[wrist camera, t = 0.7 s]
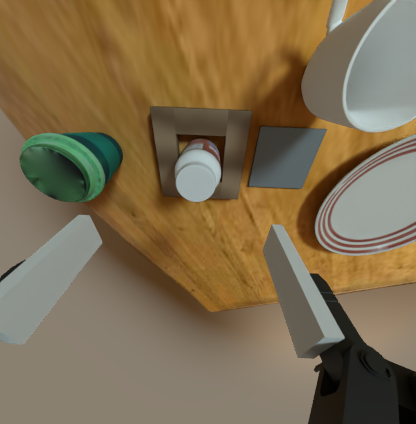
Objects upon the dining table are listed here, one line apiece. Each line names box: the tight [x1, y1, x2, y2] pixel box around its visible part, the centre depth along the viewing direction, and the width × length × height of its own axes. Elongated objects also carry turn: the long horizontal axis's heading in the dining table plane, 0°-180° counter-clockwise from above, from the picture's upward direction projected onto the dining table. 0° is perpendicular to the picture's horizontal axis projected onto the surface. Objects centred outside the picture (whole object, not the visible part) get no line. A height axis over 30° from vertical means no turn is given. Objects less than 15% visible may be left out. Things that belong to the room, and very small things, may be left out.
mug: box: [301, 0, 416, 132], centre depth 15 cm, size 12×9×12 cm
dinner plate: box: [315, 134, 416, 255], centre depth 30 cm, size 28×27×3 cm
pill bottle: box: [175, 138, 221, 202], centre depth 23 cm, size 6×6×11 cm
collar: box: [150, 106, 252, 199], centre depth 26 cm, size 14×14×2 cm
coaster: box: [248, 126, 327, 189], centre depth 27 cm, size 10×10×1 cm
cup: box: [20, 132, 123, 202], centre depth 22 cm, size 8×8×12 cm
